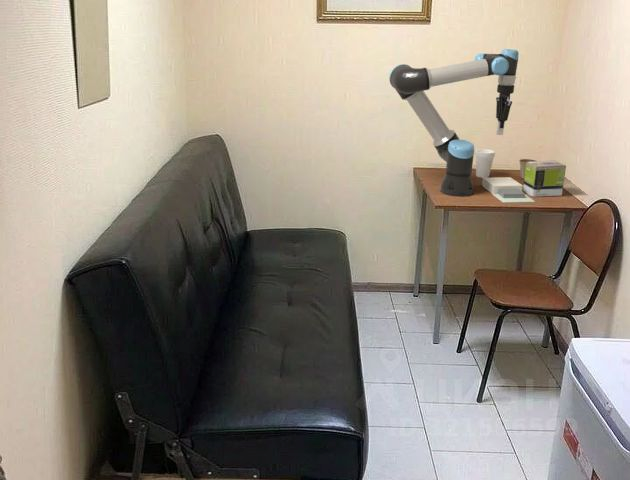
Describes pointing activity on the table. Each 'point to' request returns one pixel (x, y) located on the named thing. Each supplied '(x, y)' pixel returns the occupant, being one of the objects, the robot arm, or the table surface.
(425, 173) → the table surface
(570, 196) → the table surface
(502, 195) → the rectangular block
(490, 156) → the foam cup
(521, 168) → the flower pot
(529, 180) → the tea box
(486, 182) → the plate
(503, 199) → the mat
